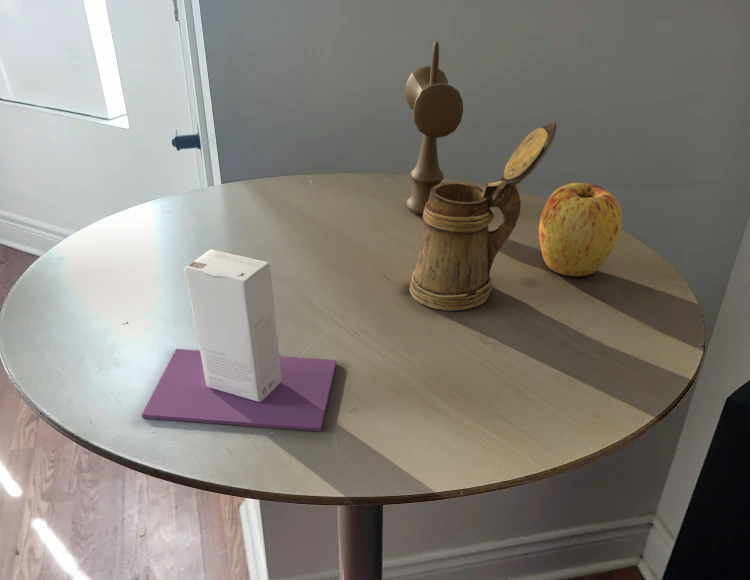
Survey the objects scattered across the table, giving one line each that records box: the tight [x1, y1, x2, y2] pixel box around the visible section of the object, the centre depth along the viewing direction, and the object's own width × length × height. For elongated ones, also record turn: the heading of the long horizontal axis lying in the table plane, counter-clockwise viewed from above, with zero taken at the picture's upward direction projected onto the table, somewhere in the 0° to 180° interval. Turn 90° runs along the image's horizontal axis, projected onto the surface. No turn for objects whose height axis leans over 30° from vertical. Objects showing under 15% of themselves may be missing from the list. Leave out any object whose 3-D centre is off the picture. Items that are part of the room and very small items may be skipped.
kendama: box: [404, 41, 464, 216], centre depth 97 cm, size 6×10×20 cm, turn 6°
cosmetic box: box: [184, 248, 282, 402], centre depth 68 cm, size 6×4×12 cm
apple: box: [538, 182, 623, 277], centre depth 89 cm, size 9×9×10 cm
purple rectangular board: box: [141, 348, 338, 432], centre depth 72 cm, size 16×11×1 cm
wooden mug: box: [409, 122, 558, 312], centre depth 81 cm, size 9×14×18 cm, turn 93°
